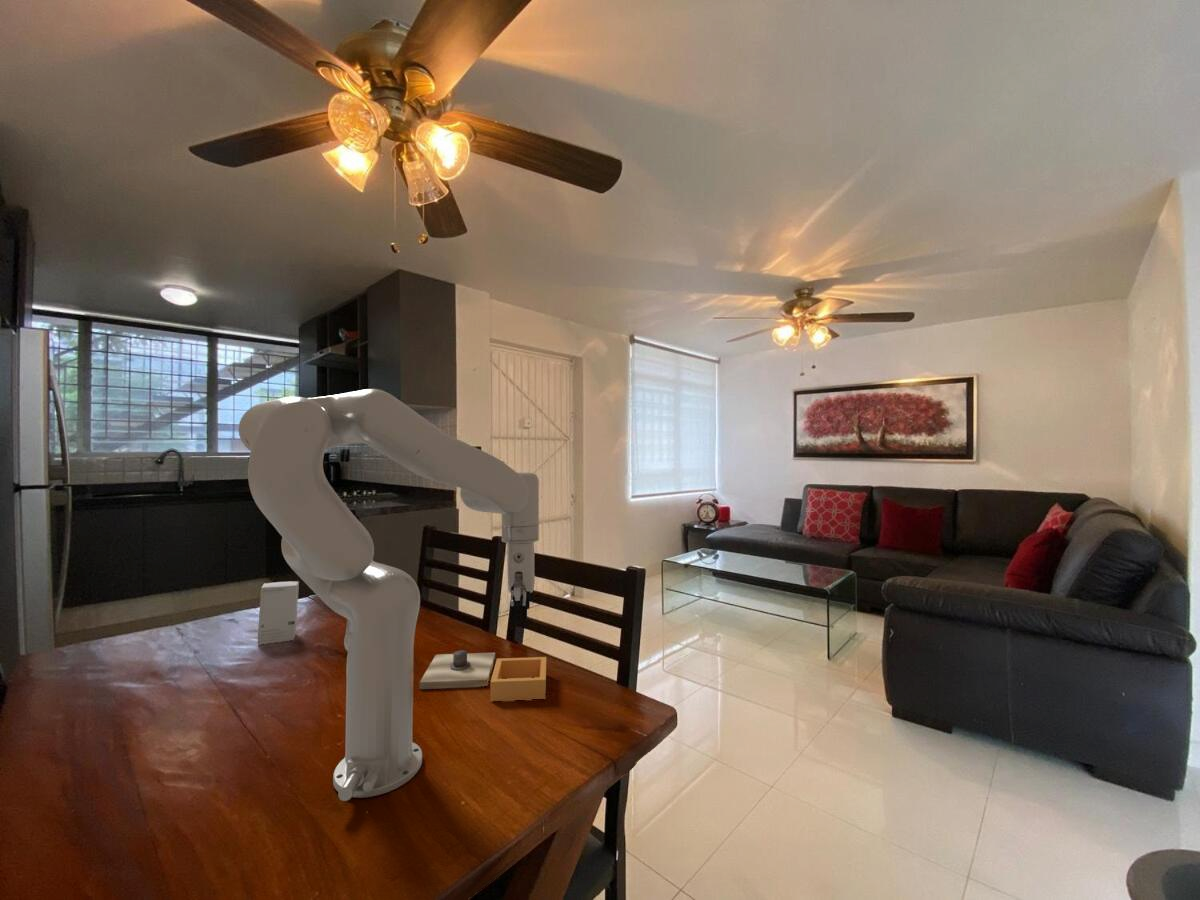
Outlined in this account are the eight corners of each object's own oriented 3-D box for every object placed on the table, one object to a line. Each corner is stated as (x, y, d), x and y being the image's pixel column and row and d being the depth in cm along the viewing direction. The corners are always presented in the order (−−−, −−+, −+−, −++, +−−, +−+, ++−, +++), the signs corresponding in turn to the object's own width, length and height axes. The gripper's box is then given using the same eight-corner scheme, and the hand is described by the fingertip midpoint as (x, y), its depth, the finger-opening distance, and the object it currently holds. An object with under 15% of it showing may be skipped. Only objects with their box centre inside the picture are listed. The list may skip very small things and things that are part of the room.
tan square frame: (545, 699, 96) (545, 679, 96) (490, 702, 94) (490, 681, 95) (546, 674, 107) (546, 656, 107) (496, 676, 105) (496, 658, 106)
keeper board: (487, 686, 101) (487, 665, 101) (419, 689, 99) (419, 667, 100) (495, 658, 115) (495, 640, 115) (435, 660, 113) (436, 641, 113)
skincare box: (257, 646, 121) (258, 588, 121) (261, 638, 127) (262, 582, 127) (295, 640, 125) (296, 584, 125) (298, 633, 130) (299, 579, 131)
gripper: (537, 540, 88) (537, 632, 88) (539, 526, 105) (540, 602, 105) (496, 541, 87) (496, 634, 87) (505, 526, 105) (506, 604, 104)
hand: (520, 616), depth 96 cm, fingers open, 9 cm apart
